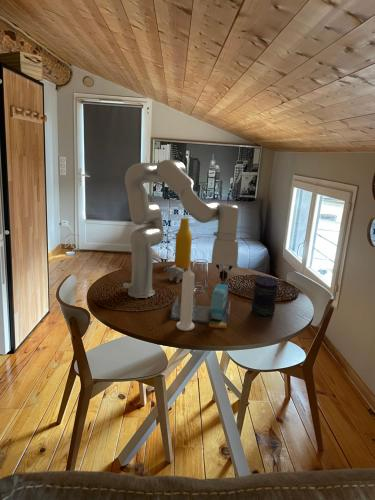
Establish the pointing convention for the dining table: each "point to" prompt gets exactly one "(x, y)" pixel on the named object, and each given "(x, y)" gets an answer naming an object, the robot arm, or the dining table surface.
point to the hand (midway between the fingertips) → (222, 280)
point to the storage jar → (264, 297)
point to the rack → (201, 314)
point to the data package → (219, 301)
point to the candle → (187, 301)
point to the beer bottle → (183, 245)
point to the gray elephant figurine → (175, 272)
